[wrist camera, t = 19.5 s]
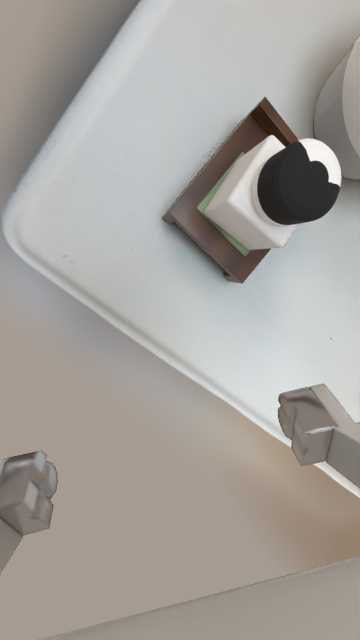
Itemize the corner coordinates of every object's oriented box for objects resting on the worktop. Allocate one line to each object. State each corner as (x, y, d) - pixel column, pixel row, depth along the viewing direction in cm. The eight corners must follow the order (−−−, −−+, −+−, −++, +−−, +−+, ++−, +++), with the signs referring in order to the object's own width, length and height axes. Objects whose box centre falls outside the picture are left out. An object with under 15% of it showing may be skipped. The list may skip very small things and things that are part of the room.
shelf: (161, 217, 36) (172, 209, 30) (239, 122, 36) (265, 96, 30) (229, 281, 40) (250, 285, 34) (299, 195, 40) (332, 183, 34)
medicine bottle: (248, 251, 35) (318, 246, 23) (201, 213, 33) (254, 187, 21) (282, 200, 35) (369, 170, 23) (237, 158, 33) (309, 103, 21)
